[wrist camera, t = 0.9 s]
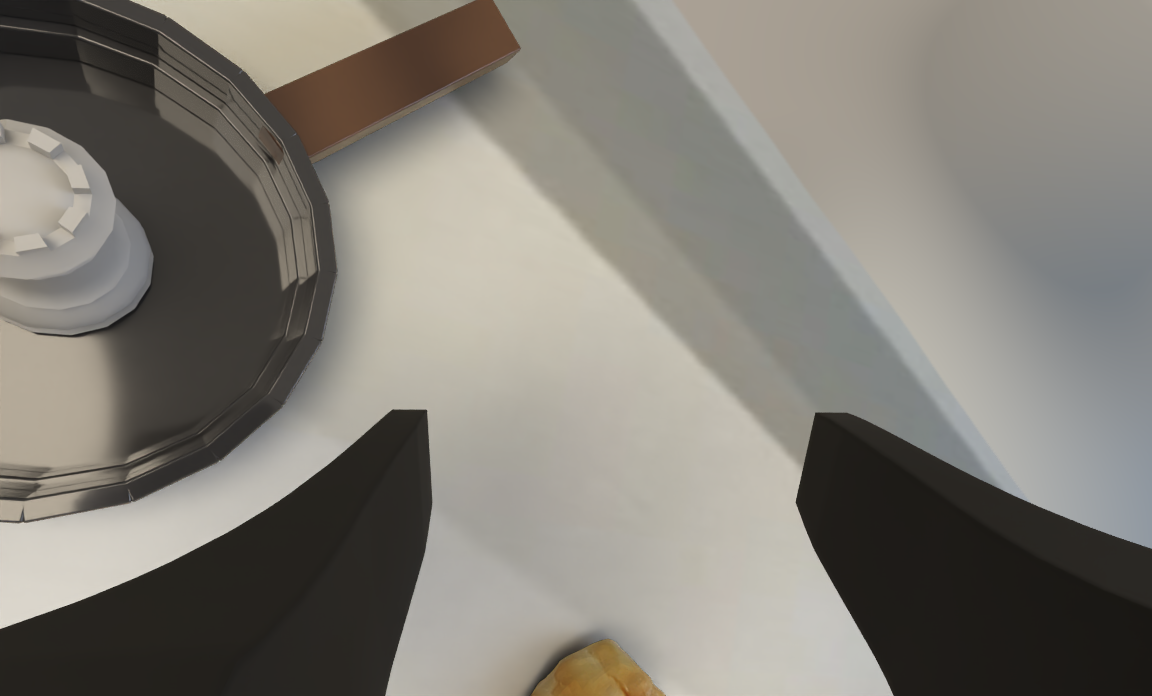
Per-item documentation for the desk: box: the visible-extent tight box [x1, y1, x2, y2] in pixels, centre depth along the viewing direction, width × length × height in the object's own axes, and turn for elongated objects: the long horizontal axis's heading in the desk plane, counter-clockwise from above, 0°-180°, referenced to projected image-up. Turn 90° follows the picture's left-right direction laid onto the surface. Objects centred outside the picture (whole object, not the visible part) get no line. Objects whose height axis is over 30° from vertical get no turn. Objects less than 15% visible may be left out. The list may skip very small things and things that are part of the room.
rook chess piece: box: [0, 119, 154, 335], centre depth 16 cm, size 4×4×8 cm
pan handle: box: [258, 0, 521, 165], centre depth 22 cm, size 10×2×1 cm, turn 127°
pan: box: [0, 0, 337, 523], centre depth 18 cm, size 14×14×4 cm
